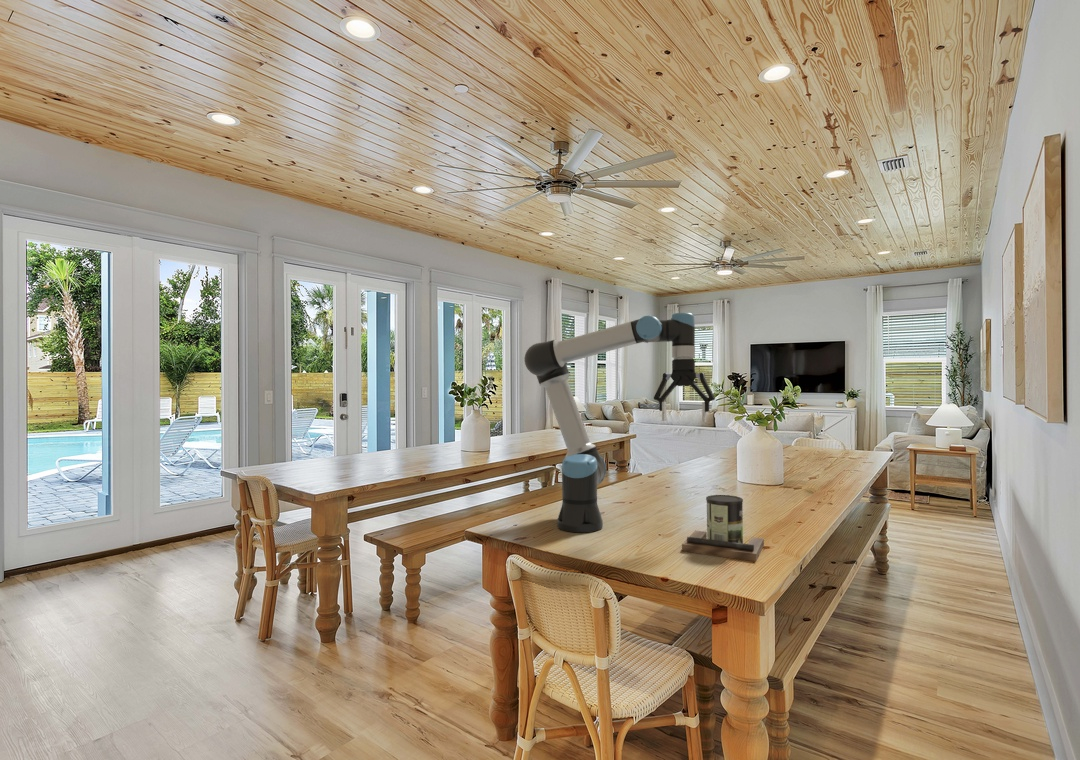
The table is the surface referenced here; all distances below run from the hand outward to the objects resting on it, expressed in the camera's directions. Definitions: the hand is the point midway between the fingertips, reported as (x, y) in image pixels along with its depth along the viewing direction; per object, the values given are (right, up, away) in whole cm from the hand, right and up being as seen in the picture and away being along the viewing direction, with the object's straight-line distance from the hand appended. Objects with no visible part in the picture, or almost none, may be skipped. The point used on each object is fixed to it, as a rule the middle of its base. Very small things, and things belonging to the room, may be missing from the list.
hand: (683, 421), depth 192 cm
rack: (+4, -35, -28) cm, 45 cm away
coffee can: (+5, -35, -26) cm, 44 cm away
